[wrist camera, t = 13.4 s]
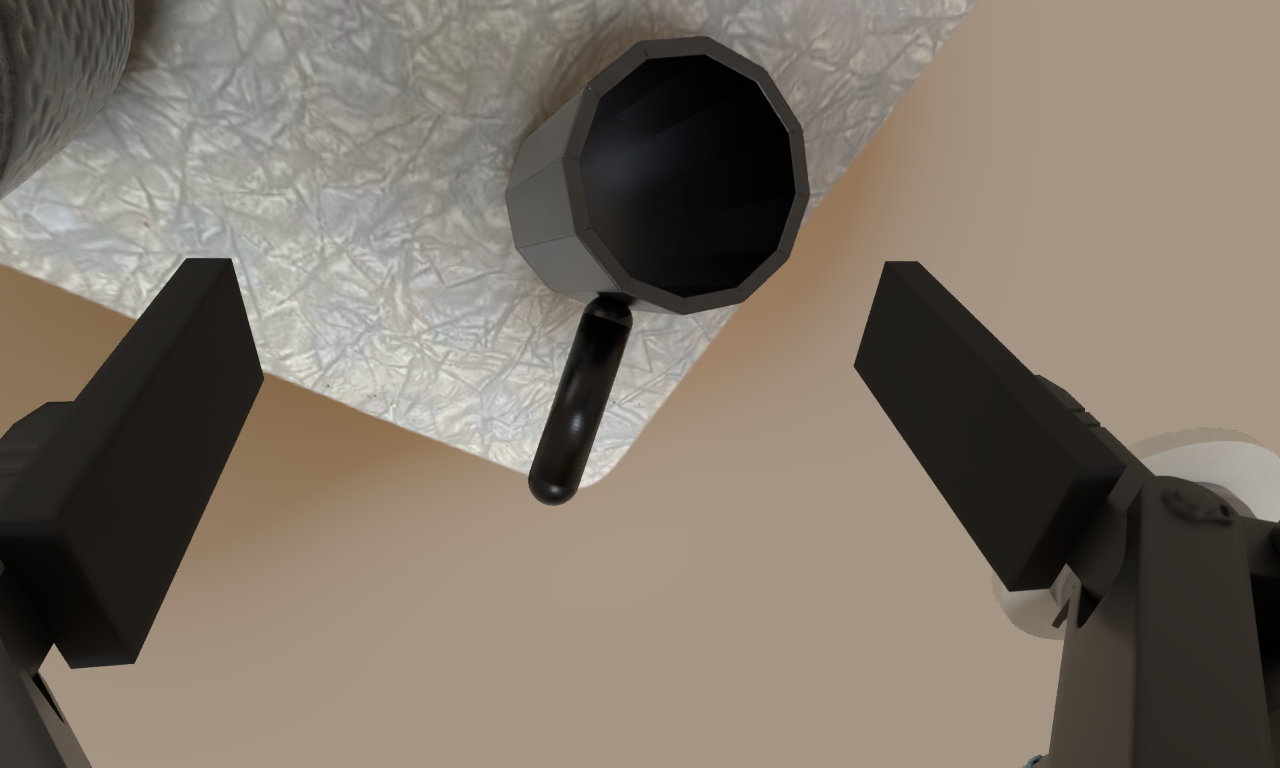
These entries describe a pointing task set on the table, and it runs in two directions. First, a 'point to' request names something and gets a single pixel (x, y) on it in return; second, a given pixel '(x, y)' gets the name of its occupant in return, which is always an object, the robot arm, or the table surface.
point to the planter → (55, 75)
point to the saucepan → (651, 212)
